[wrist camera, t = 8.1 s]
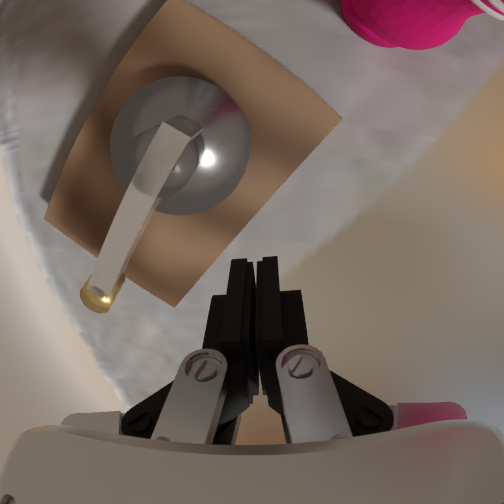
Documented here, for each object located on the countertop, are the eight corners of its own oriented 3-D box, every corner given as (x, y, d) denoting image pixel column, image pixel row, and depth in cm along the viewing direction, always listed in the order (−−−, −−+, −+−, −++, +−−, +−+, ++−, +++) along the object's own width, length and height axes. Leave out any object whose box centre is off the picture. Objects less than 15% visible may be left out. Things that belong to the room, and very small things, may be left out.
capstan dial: (159, 54, 16) (127, 45, 11) (278, 124, 18) (286, 136, 14) (72, 242, 23) (40, 278, 18) (162, 294, 25) (146, 340, 20)
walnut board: (179, 1, 15) (171, -6, 14) (335, 115, 20) (343, 118, 18) (54, 210, 23) (42, 220, 22) (178, 294, 28) (173, 309, 26)
